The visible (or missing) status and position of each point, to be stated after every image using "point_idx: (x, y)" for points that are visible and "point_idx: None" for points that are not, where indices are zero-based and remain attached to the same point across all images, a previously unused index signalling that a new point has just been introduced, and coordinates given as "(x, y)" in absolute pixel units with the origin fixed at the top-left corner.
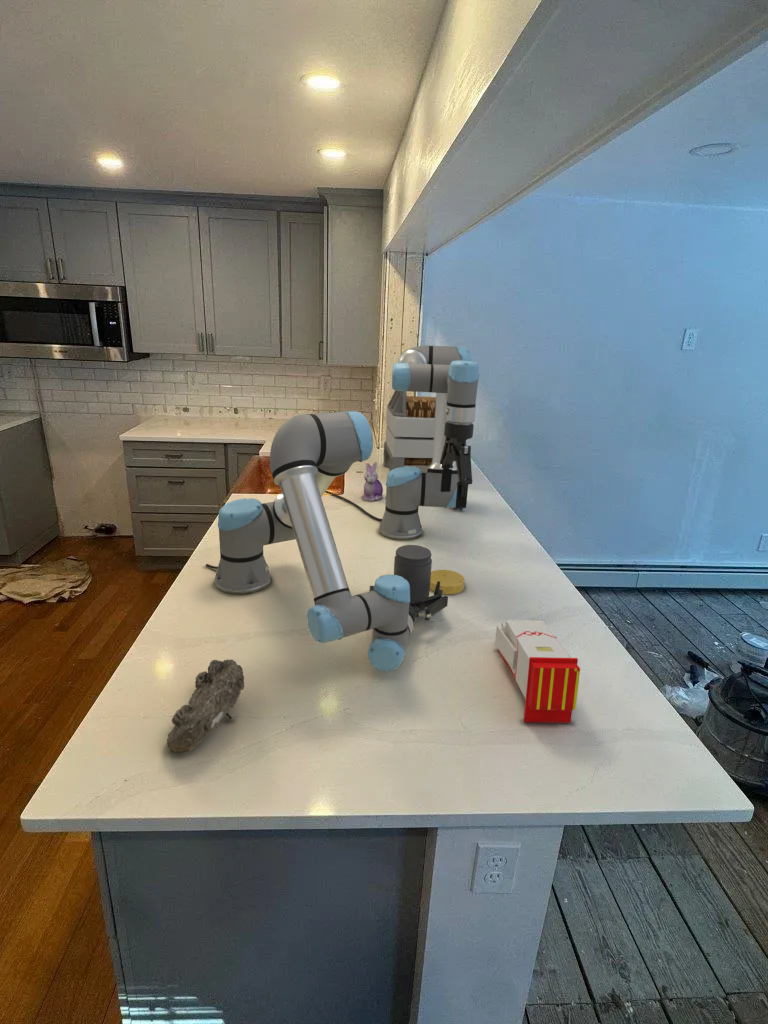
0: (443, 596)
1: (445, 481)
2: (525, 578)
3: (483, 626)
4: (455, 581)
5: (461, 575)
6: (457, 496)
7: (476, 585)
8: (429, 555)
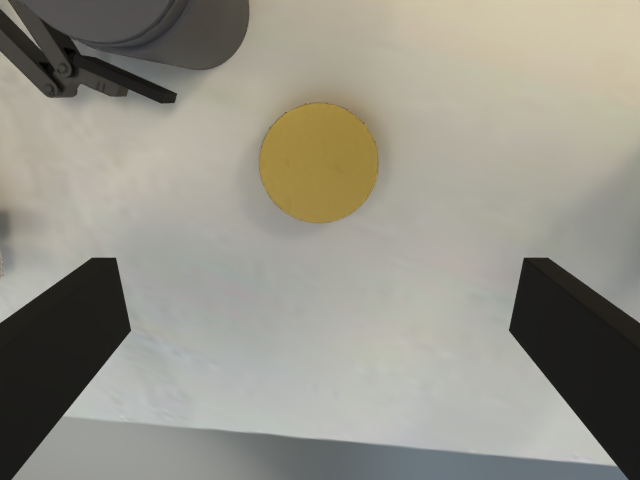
0: (52, 81)
1: (578, 344)
2: (332, 375)
3: (90, 193)
4: (292, 189)
5: (329, 219)
6: (17, 313)
7: (309, 249)
8: (42, 17)
